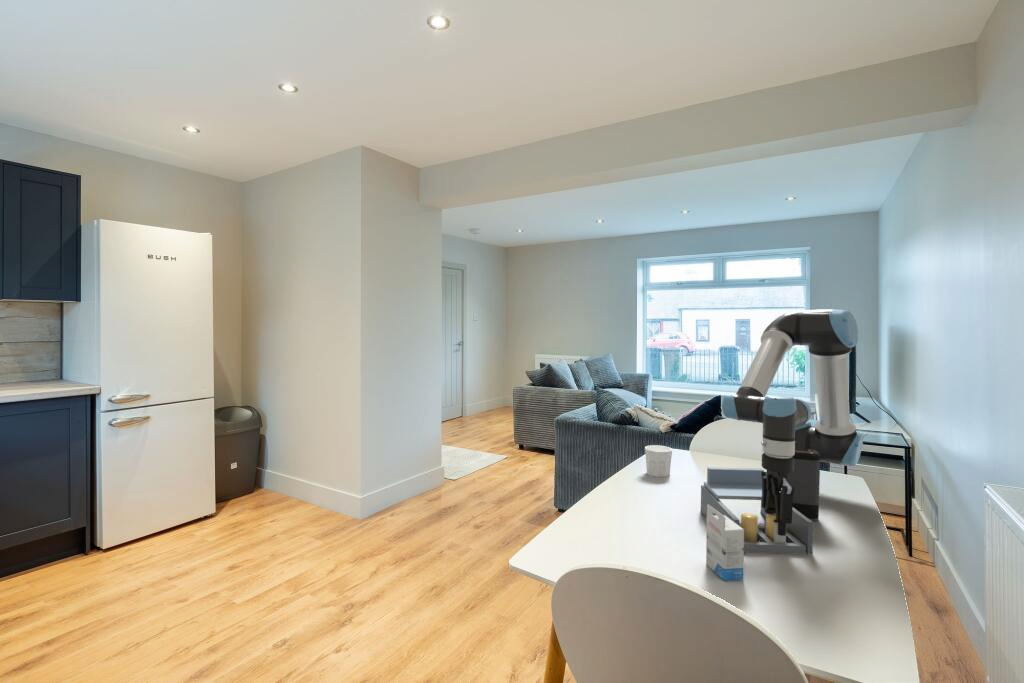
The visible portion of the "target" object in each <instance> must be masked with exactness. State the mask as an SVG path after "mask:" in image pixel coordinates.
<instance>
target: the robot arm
mask: <svg viewBox="0 0 1024 683" xmlns="http://www.w3.org/2000/svg"><path fill="white" fill-rule="evenodd" d="M858 334H859V330H858V324H857V321H856V318H855V316H854V314H853V313H852V312H851V311H849V310H847V309H837V308H836V309H835V308H832V309H807V310H805V309H803V310H802V309H796V310H792V311H788V312H786V313H784V314H782V315H780V316H777V318H775V319H774V320H773V321H771V322H770V323H769V325H767V327H766V328H765V329H764V330H763V333H762V334H761V337H760V346H759V348H758V350H757V352H756V354H755V356H754V357H753V360H752V361H751V364H750V365H749V367H748V370H747V372H746V373H745V376H744V378H743V380H742V381H741V383H740V386H739V387H738V390H737V391H736V393H734V392H732V393H727V394H725V395H724V397H723V398H722V403H721V410H722V413H723V416H724V417H726V418H728V419H732V420H737V421H745V422H752V423H758V424H759V423H761V424H762V441H761V442H760V444H761V447H762V448H761V449H762V450H761V451H762V452H763V453H762V454H761V467H762V469H763V470H766V471H764V472H761V475H762V508H765V513H766V517H765V526H766V532H765V535H766V536H767V516H768V515H769V514H774V513H776V520H773V521H774V543H786V524H787V523H792V508H793V494H794V491H795V488H794V486H790V485H789V479H788V473H790V472H793V471H794V458H793V457H792V456H794V455H795V450H799V451H807V449H810V450H815V451H817V452H818V453H819V454H820V462H822V463H823V462H824V463H828V464H834V465H838V466H844V467H845V466H846V467H854V466H856V465H857V464H858V462H859V459H860V457H861V453H862V449H863V444H864V434H863V432H860V431H857V426H856V425H855V423H853V422H852V421H851V416H850V415H851V414H850V399H849V380H848V363H847V356H848V355H849V354H850V353H851V352H852V350H853V349H852V348H854V347H856V346H857V345H858V341H859V337H858ZM794 346H807V348H808V354H811V355H812V356H813V357H814V366H815V378H816V392H817V404H818V405H817V406H818V417H819V418H818V419H819V420H818V421H817V422H815V424H814V425H812V423H811V421H810V420H811V417H812V409H811V407H810V405H809V404H808V403H807V402H806V401H804V400H802V399H798V398H794V397H793V396H790V395H789V396H788V395H781V394H769V395H767V393H768V391H769V389H770V387H771V385H772V383H773V381H774V379H775V376H776V374H777V372H778V370H779V368H780V365H781V363H782V361H783V359H784V357H785V356H786V355H785V354H786V353H788V352H789V351H791V350H792V348H793V347H794Z"/></svg>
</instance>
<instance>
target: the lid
mask: <svg viewBox="0 0 1024 683" xmlns="http://www.w3.org/2000/svg"><path fill="white" fill-rule="evenodd" d="M761 472H765V469H764V468H760V467H758V468H755V467H754V468H752V467H716V466H715V467H713V466H711V467H708V466H707V471H706V474H707V475H706V478H707V479H706V481H703V485H704V486H705V487H706V488H707V489H708V490H709V491H710V492H711V493H712V494H713V495H714V496H715V497H716V498H717V499H719V500H741V501H743V500H746V501H750V500H751V501H761V500H762V475H761Z"/></svg>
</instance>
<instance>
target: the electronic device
mask: <svg viewBox="0 0 1024 683" xmlns="http://www.w3.org/2000/svg"><path fill="white" fill-rule="evenodd" d="M792 457H793V458H794V471H793V472H790V473H788V479H789V485H790V486H794V488H795V491H794V494H793V508H795V509H796V510H797V511H799V512H800V513H801V514H803V515H804V516H805V517H807V518H808V519H810V520H811V521H812V522H816V521H817V522H818V521H819V516H820V515H819V513H820V512H819V511H820V480H821V479H820V478H821V477H820V476H821V474H820V473H821V466H820V465H821V461H820V454H819V453H818V452H817V451H815V450H810V449H807V451H799V450H795V455H794V456H792Z"/></svg>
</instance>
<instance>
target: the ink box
mask: <svg viewBox="0 0 1024 683" xmlns="http://www.w3.org/2000/svg"><path fill="white" fill-rule="evenodd" d="M713 513H714V514H715V513H716V516H713ZM739 525H740V524H739ZM739 525H737V524H736V523H734V522H733V521H732V520H730V519H729V518H728V517H727V516H725V515H722V514H721V513H719V512H718V511H717V510H716V509H714V508H713V507H711V506H710V505H709V504H708V505H707V518H706V533H705V534H706V538H705V539H706V540H705V542H706V544H705V548H706V549H705V550H706V551H705V554H706V555H705V558H706V560H705V564H706V565H707V566H708V567H709V568H710V569H711V570H712V571H713V573H715V574H716V575H717V576H718V577H719V578H720V579H721V580H722V581H723V582H730V581H743V580H744V566H745V564H744V561H745V560H744V559H745V558H744V556H745V554H744V553H745V552H744V529H743V528H741V527H740V526H739Z"/></svg>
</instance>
